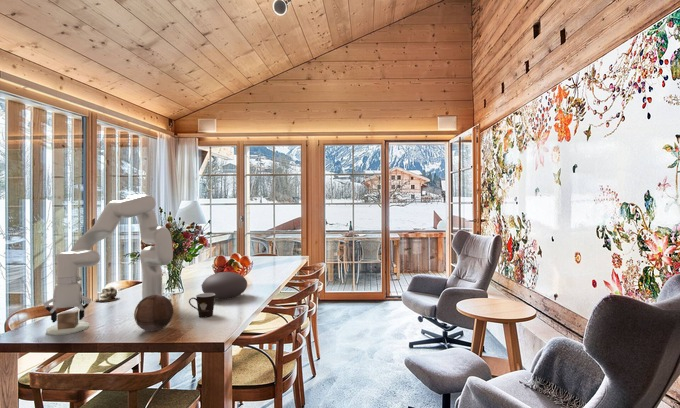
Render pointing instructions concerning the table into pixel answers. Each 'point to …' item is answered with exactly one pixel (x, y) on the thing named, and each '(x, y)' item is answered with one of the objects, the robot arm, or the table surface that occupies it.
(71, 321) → the walnut cube
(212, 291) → the flattened ellipsoid
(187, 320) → the table surface
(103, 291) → the skull
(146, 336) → the table surface
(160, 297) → the wooden sphere
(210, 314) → the coffee mug
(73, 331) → the sage plate
